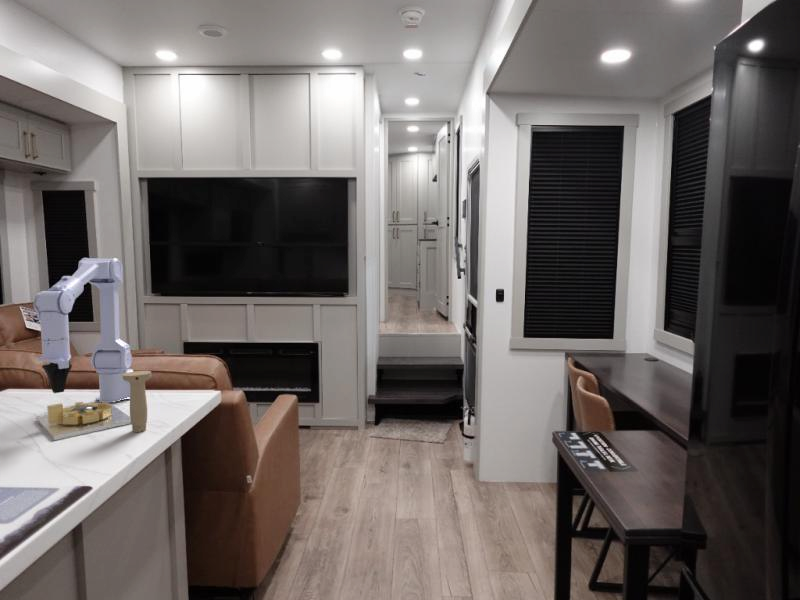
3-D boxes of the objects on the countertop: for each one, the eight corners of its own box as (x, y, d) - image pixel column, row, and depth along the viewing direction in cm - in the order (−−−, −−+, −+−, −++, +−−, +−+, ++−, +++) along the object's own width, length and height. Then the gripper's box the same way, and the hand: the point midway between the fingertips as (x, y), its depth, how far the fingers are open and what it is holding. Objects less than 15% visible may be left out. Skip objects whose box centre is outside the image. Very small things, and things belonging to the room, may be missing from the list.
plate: (110, 406, 148) (109, 393, 148) (134, 422, 134) (133, 408, 134) (36, 420, 135) (35, 406, 135) (54, 440, 121) (53, 424, 121)
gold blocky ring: (102, 407, 143) (102, 391, 142) (116, 416, 135) (115, 400, 134) (43, 418, 133) (42, 401, 132) (54, 429, 125) (53, 411, 124)
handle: (153, 431, 128) (151, 374, 126) (124, 435, 125) (122, 376, 124) (153, 425, 132) (151, 370, 131) (125, 429, 129) (123, 372, 128)
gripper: (29, 336, 127) (32, 389, 128) (42, 344, 117) (46, 401, 118) (62, 333, 132) (65, 384, 133) (77, 341, 122) (80, 395, 123)
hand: (58, 392), depth 126 cm, fingers closed
